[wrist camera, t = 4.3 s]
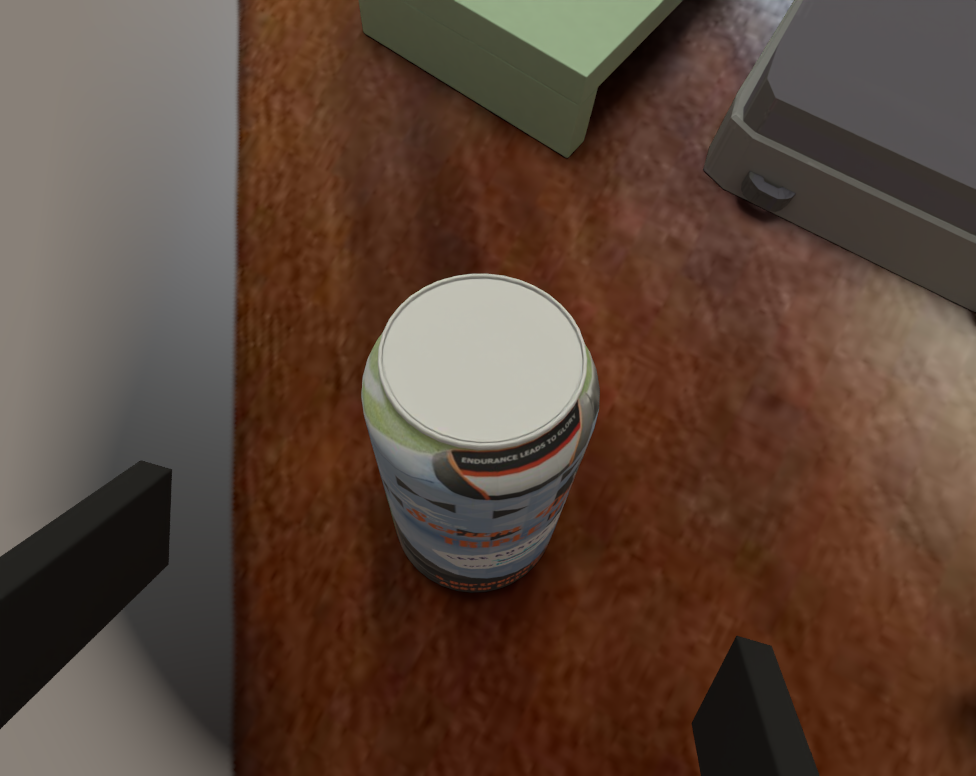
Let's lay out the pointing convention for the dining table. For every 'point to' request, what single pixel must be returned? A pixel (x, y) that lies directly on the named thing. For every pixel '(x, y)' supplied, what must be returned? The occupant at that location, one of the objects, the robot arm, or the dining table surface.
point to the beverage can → (479, 425)
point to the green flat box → (520, 53)
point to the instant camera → (866, 134)
